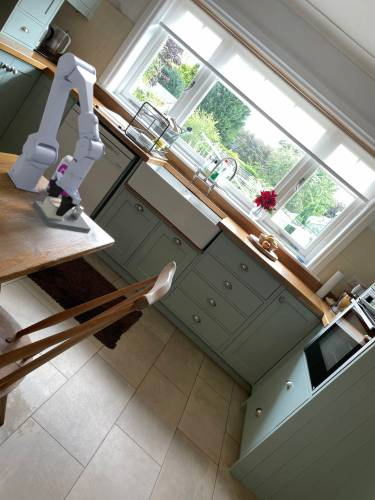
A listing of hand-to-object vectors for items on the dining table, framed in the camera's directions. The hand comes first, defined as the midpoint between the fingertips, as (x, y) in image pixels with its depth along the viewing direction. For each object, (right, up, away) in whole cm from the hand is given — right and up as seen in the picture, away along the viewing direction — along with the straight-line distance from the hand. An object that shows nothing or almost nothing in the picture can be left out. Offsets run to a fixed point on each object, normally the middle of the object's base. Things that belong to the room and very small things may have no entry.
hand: (54, 208), depth 120 cm
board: (+1, -3, +5) cm, 6 cm away
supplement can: (-5, +6, +15) cm, 17 cm away
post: (+4, -2, +7) cm, 9 cm away
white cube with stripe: (-1, -1, +1) cm, 2 cm away
